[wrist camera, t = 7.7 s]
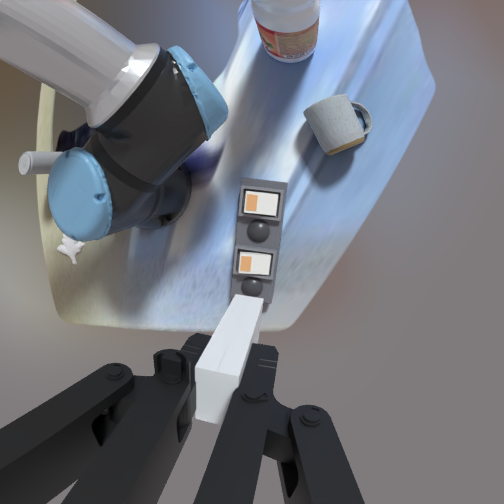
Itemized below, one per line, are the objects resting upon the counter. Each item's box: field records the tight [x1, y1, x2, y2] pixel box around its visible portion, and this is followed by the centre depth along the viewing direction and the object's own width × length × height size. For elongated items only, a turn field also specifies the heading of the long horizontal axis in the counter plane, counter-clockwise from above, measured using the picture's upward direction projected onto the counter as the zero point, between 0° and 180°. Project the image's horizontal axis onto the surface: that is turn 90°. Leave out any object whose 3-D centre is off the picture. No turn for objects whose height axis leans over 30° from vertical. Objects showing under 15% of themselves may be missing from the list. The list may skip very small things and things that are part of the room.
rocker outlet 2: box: [238, 252, 271, 275], centre depth 46 cm, size 5×3×1 cm
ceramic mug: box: [304, 94, 372, 156], centre depth 39 cm, size 11×8×8 cm
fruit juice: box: [251, 0, 320, 63], centre depth 27 cm, size 9×9×28 cm
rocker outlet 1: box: [244, 191, 278, 216], centre depth 43 cm, size 5×3×1 cm
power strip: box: [231, 178, 287, 303], centre depth 47 cm, size 7×20×5 cm, turn 174°
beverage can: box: [19, 152, 63, 175], centre depth 46 cm, size 5×5×12 cm
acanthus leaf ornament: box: [57, 233, 85, 265], centre depth 56 cm, size 8×7×2 cm
